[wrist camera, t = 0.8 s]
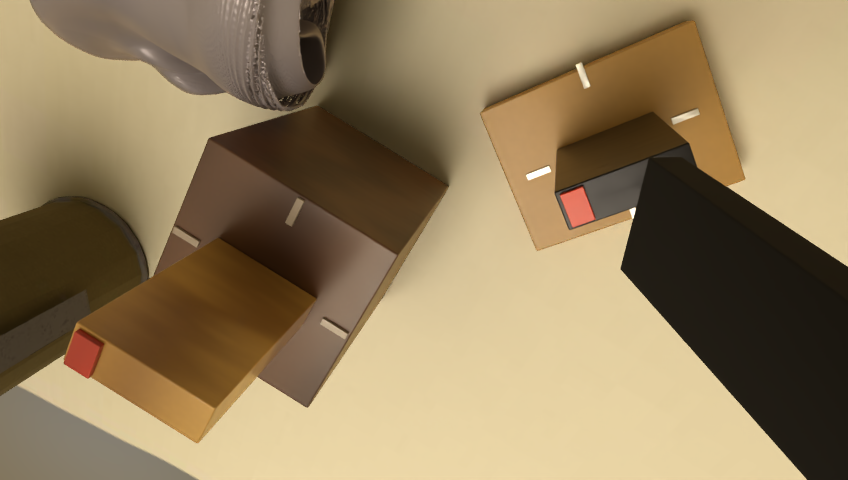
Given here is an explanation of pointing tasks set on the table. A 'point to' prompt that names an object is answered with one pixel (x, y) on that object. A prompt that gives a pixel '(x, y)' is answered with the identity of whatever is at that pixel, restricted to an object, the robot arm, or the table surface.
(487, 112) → the light wooden block
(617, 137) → the bar
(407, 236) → the walnut box
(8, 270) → the canister
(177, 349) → the wooden red-tipped block
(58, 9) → the grey shiny folded piece
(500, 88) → the table surface
